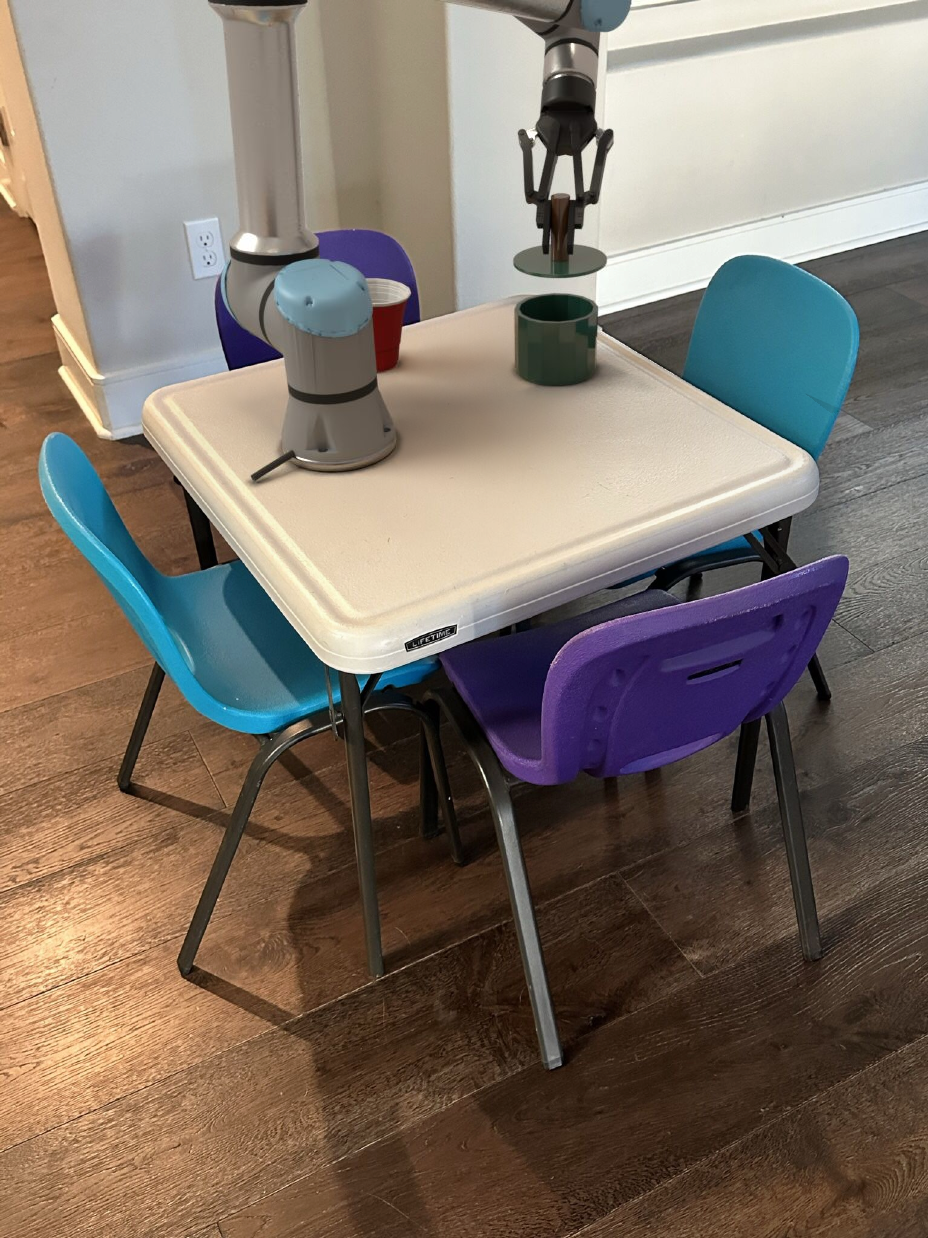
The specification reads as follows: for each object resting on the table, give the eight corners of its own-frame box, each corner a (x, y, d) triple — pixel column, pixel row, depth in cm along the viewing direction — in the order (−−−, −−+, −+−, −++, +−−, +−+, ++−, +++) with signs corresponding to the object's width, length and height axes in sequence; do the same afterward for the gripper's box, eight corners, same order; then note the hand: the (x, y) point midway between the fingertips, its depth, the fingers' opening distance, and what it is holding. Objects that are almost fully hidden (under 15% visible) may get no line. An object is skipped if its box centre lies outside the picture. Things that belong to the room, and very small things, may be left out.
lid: (550, 289, 150) (550, 216, 144) (495, 264, 159) (493, 194, 153) (626, 268, 155) (629, 196, 149) (568, 245, 164) (569, 176, 158)
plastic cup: (413, 378, 168) (408, 300, 161) (341, 380, 169) (333, 302, 162) (417, 349, 177) (412, 274, 170) (349, 351, 178) (341, 276, 171)
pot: (547, 392, 163) (548, 329, 157) (499, 366, 171) (498, 305, 165) (612, 371, 168) (614, 309, 162) (562, 346, 176) (563, 287, 170)
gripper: (626, 105, 158) (616, 263, 154) (515, 106, 160) (502, 261, 156) (626, 71, 150) (616, 236, 147) (510, 73, 153) (496, 235, 149)
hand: (557, 249), depth 152 cm, fingers closed on lid, 3 cm apart
